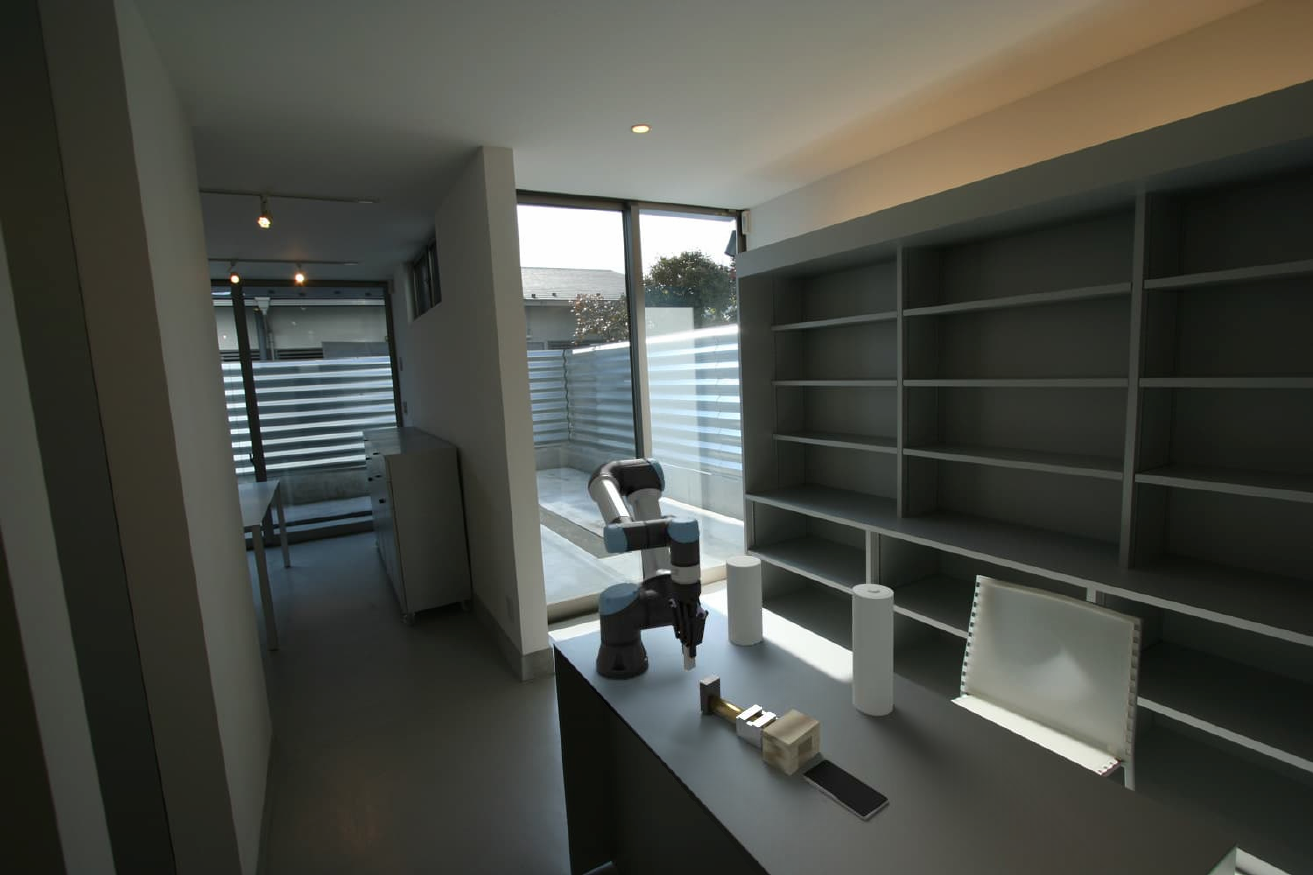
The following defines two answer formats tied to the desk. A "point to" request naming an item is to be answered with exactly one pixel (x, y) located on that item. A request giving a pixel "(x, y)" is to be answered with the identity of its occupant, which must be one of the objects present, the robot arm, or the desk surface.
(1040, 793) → the desk surface
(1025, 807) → the desk surface
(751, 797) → the desk surface
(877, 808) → the smartphone
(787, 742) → the socket
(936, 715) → the desk surface
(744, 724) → the sleeve
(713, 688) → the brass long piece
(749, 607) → the tall pillar cylinder
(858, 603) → the cylinder container
